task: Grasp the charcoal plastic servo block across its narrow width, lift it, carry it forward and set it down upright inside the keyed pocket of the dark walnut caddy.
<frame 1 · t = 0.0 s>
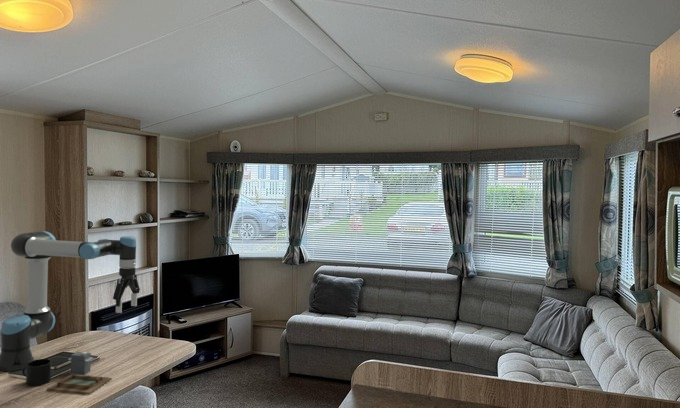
hand: (126, 309, 239), 28 cm above the table, fingers open, 13 cm apart
servo: (80, 372, 227), on the table
caddy: (80, 385, 213), on the table
mug: (35, 382, 215), on the table
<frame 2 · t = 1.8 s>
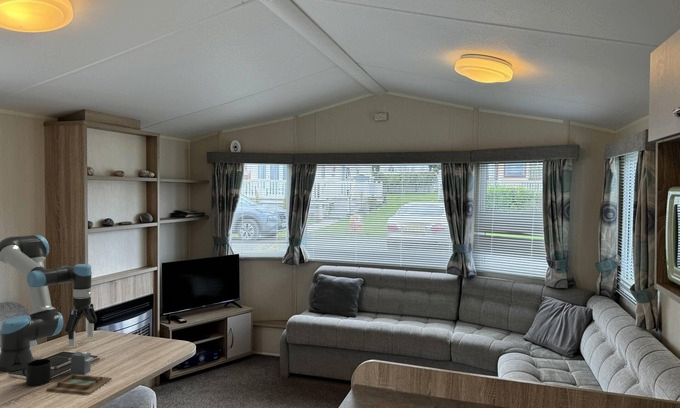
hand: (81, 341, 227), 15 cm above the table, fingers open, 13 cm apart
nothing on the table moved.
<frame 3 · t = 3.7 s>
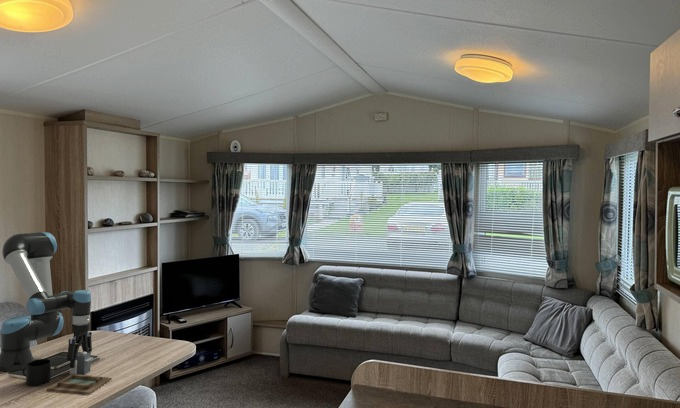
hand: (79, 371, 226), 1 cm above the table, fingers open, 7 cm apart
nothing on the table moved.
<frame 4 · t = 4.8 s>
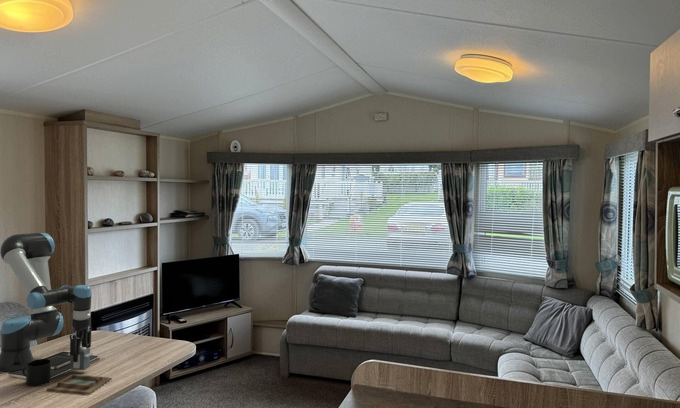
hand: (80, 365, 227), 3 cm above the table, fingers closed on servo, 4 cm apart
servo: (79, 367, 227), point 2 cm above the table, touching gripper
everything else where it was.
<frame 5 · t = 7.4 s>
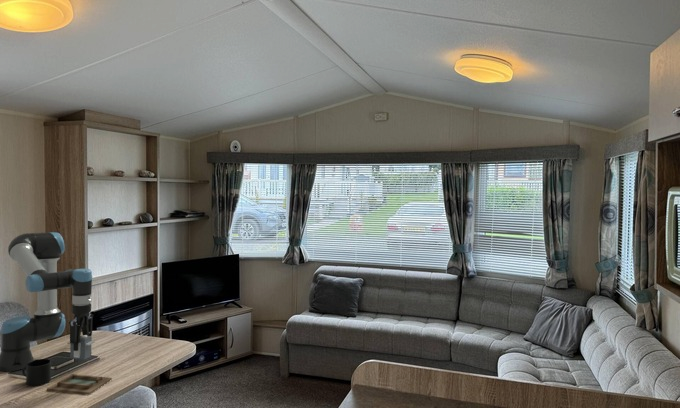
hand: (80, 355, 213), 14 cm above the table, fingers closed on servo, 4 cm apart
servo: (80, 357, 213), point 13 cm above the table, touching gripper
everything else where it was.
when the fingers open (3 cm above the table, at t = 9.8 s): servo drops 1 cm, resting on caddy.
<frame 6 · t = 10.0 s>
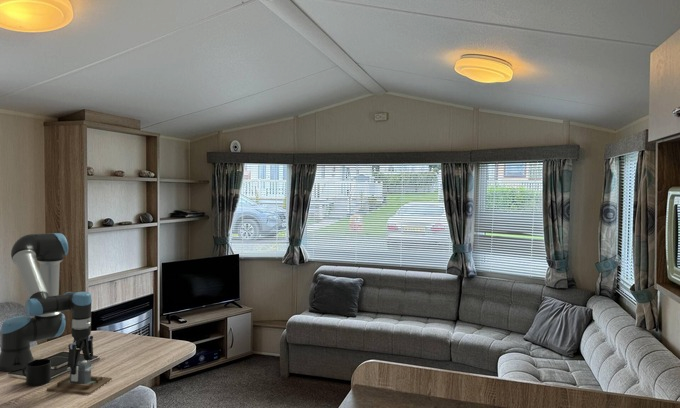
hand: (80, 377, 213), 4 cm above the table, fingers open, 7 cm apart
servo: (80, 382, 213), point 1 cm above the table, touching caddy
everything else where it was.
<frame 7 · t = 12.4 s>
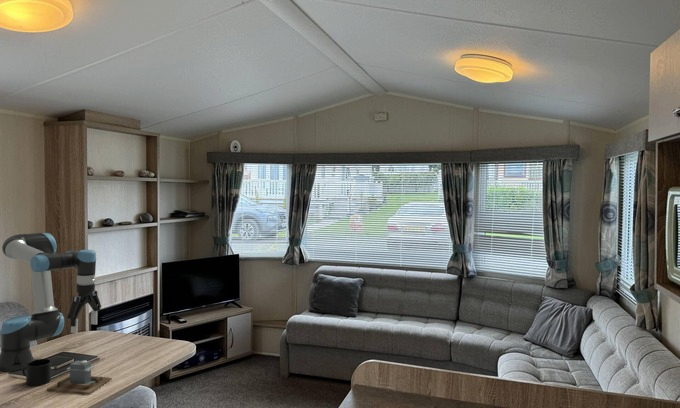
hand: (84, 328, 221), 23 cm above the table, fingers open, 13 cm apart
nothing on the table moved.
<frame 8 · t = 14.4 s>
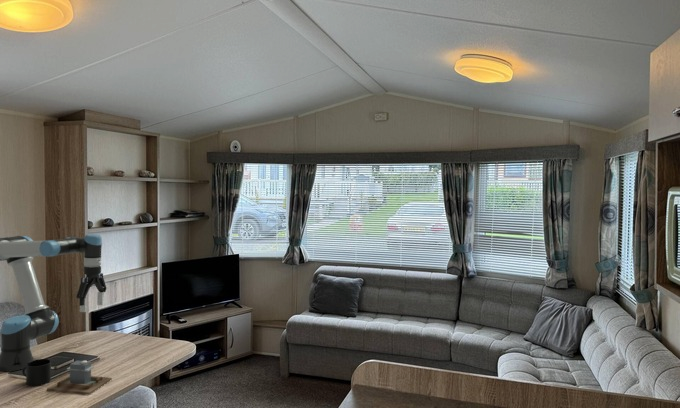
hand: (91, 308, 235), 29 cm above the table, fingers open, 13 cm apart
nothing on the table moved.
at the end: servo 0.1 cm off-centre on the caddy, point 1.1 cm above the caddy's base; servo tilted 0°; the gripper is holding nothing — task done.
